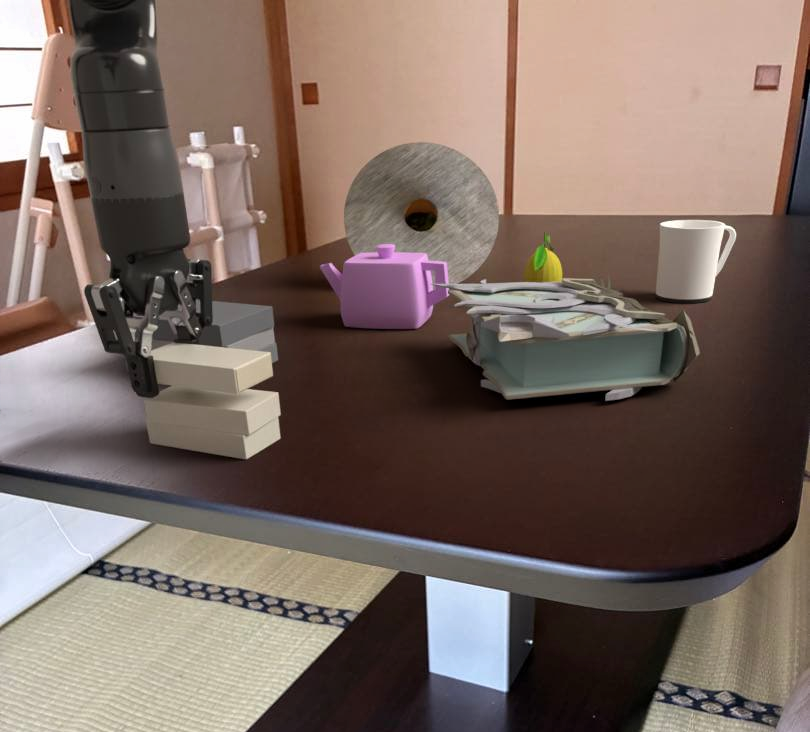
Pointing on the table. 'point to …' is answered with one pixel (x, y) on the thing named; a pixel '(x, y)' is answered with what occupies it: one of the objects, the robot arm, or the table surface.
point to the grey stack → (227, 328)
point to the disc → (424, 207)
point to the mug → (690, 259)
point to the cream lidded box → (214, 420)
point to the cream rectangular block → (211, 367)
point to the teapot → (387, 288)
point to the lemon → (543, 265)
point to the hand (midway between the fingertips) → (170, 385)
